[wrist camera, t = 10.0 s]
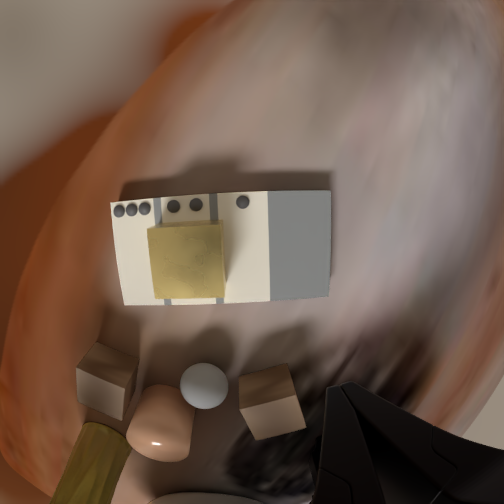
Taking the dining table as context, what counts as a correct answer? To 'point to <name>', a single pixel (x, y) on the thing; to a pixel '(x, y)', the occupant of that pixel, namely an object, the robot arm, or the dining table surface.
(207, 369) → the grey ball
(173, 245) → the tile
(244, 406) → the walnut cube
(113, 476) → the vase
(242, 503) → the chamber pot
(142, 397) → the peach rounded capsule
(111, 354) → the walnut cube
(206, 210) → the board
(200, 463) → the dining table surface
